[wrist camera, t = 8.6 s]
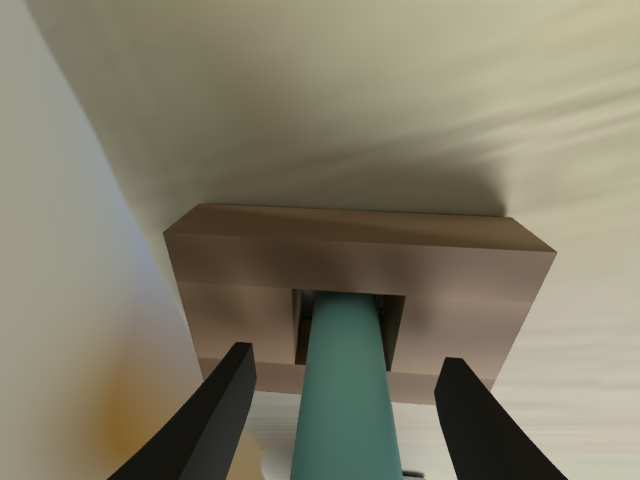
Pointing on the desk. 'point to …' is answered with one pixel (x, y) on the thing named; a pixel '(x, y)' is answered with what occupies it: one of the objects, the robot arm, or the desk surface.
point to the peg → (345, 395)
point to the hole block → (356, 286)
